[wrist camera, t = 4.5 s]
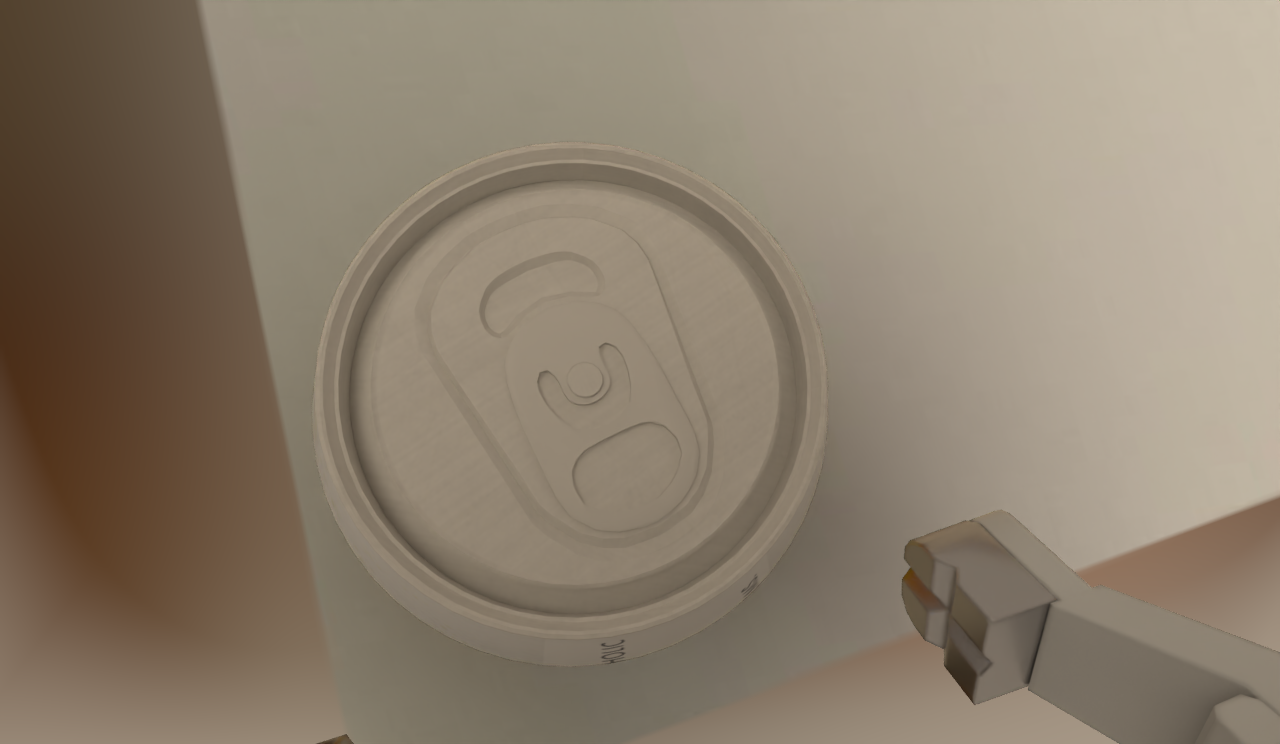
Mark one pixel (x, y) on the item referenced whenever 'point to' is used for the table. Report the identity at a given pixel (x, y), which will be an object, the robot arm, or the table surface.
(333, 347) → the orange beverage can
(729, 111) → the table surface
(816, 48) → the table surface
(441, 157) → the table surface
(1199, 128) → the table surface
